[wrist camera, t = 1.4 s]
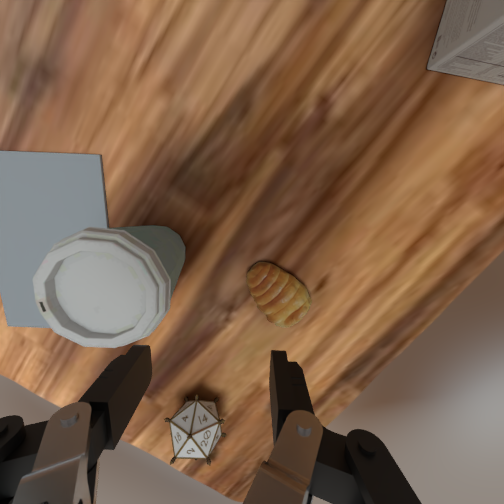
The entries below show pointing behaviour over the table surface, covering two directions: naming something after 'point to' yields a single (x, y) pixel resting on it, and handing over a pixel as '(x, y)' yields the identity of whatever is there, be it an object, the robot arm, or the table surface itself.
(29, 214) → the mat
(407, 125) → the table surface
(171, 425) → the game die
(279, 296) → the pastry
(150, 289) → the disposable coffee cup
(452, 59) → the supplement box
